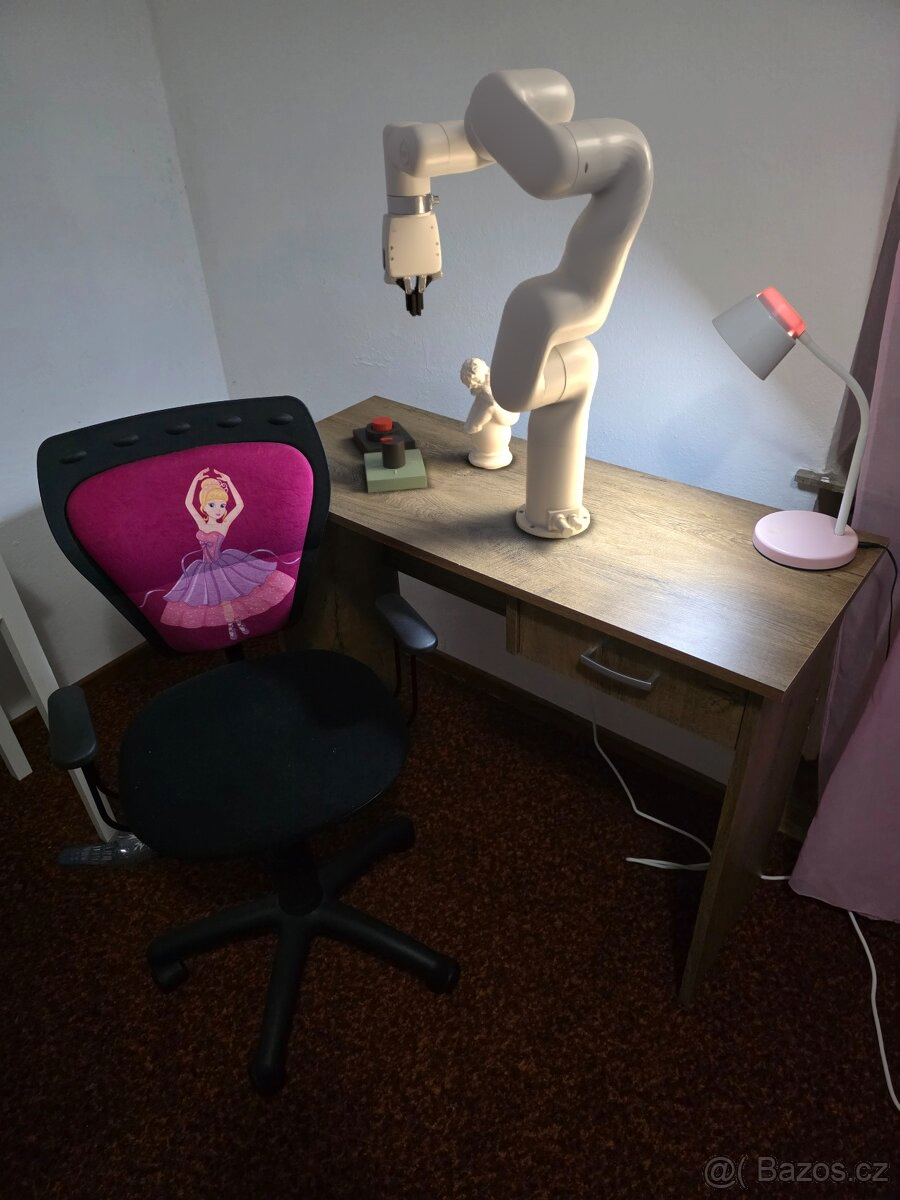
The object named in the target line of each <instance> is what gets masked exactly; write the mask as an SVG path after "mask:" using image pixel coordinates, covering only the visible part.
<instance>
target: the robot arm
mask: <svg viewBox="0 0 900 1200" xmlns="http://www.w3.org/2000/svg"><path fill="white" fill-rule="evenodd" d="M574 92H575V91H574V88H573V87H572V84H571V83H570V81H569V80H568V79H567V77H566V76H565V75H564V74H562V73H560V72H559V71H557V70H554V69H551V68H548V67H547V68H546V67H532V68H517V69H503V70H496V71H492V72H490V73H488V74H486V75H485V76H483V77H482V78H481V79H480V80H479V82H477V84H476V85H475V87H474V88H473V90H472V93H471V96H470V99H469V103H468V106H466V110H465V112H464V117H463V119H452V120H451V119H450V120H443V121H441V120H440V121H433V122H421V121H416V120H405V121H404V120H403V121H393V122H389V123H387V124H386V125H385V126H384V127H383V128H382V129H383V130H382V146H383V160H384V175H385V177H384V178H385V189H386V206H387V213H384V214H383V215H382V226H381V262H382V264H381V265H382V269H383V271H384V272H383V282H384V283H385V284H388V285H393V286H398V287H399V288H400V289H402V291H403V292H404V296H405V299H404V300H405V309H406V311H407V312H408V313H409V315H411V317H412V318H414V317H421V316H422V310H424V308H425V307H424V293H425V292H426V289H427V288H428V286H429V285H430V284H431V283H432V282H434V281H437V280H439V279H442V278H443V271H442V263H443V262H442V261H443V260H442V247H441V240H440V232H439V226H438V225H439V224H438V220H437V216H436V212H435V211H433V206H435V205H439V204H440V197H439V195H435V194H433V193H432V192H431V178H434V177H440V176H446V175H454V174H463V173H468V172H469V173H470V172H473V171H476V170H479V169H481V168H485V167H488V166H492V165H493V164H496V163H497V164H498V165H499V166H500V167H501V168H502V169H503V170H504V171H505V172H506V174H508V175H509V177H511V179H512V180H513V181H514V182H515V183H516V184H517V185H518V186H519V187H520V188H521V189H522V190H523V191H524V192H525V193H527V194H528V195H529V196H530V197H531V196H532V197H533V198H535V199H538V200H541V201H558V200H562V199H569V198H574V197H581V196H585V195H589V194H590V196H591V197H590V199H589V201H588V202H587V204H586V206H585V207H584V208H583V210H582V211H581V212H580V214H579V215H578V216H577V219H576V220H575V221H574V223H573V225H572V227H571V229H570V231H569V233H568V236H567V239H566V242H565V247H564V250H563V254H562V257H561V259H560V262H559V264H558V265H557V268H555V269H554V270H553V271H551V272H548V273H545V274H540V275H536V276H532V277H530V278H527V279H525V280H523V281H521V282H520V283H519V284H517V285H516V286H515V287H514V289H512V291H511V292H510V293H509V295H508V297H507V299H506V301H505V304H504V306H503V309H502V314H501V318H500V322H499V327H498V331H497V336H496V340H495V344H494V347H493V352H492V357H491V362H490V366H489V367H490V388H491V392H492V395H493V398H494V400H495V401H496V403H497V404H498V405H499V406H500V407H501V408H502V409H503V410H505V411H507V412H511V413H519V414H523V413H526V412H529V415H528V420H527V429H526V430H527V433H526V461H525V462H526V467H525V468H526V469H525V502H524V503H523V504H522V505H520V506H519V508H518V509H517V510H516V513H515V522H516V524H517V526H518V527H519V528H520V529H521V530H523V531H524V532H526V533H528V534H530V535H533V536H535V537H540V538H547V539H563V538H564V539H569V538H571V537H574V536H576V535H578V534H580V533H582V532H584V531H585V530H586V529H587V528H588V527H589V525H590V520H591V518H590V517H591V515H590V512H589V511H588V509H587V508H586V507H584V506H583V505H582V502H583V491H584V490H583V489H584V476H585V460H586V448H587V437H588V424H589V415H590V408H591V403H592V398H593V394H594V391H595V388H596V383H597V379H598V374H599V358H598V353H597V351H596V348H595V346H594V345H593V343H592V342H591V341H590V340H589V338H587V336H590V335H592V334H594V333H596V332H597V331H599V330H600V329H601V328H602V326H603V325H604V323H605V322H606V319H607V317H608V314H609V313H610V309H611V307H612V303H613V301H614V298H615V295H616V293H617V289H618V286H619V283H620V280H621V277H622V274H623V272H624V270H625V269H624V268H625V265H626V262H627V259H628V255H629V253H630V251H631V247H632V246H633V242H634V240H635V238H636V235H637V233H638V231H639V229H640V227H641V224H642V222H643V219H644V217H645V215H646V211H647V209H648V207H649V203H650V200H651V196H652V191H653V188H654V187H653V185H654V179H655V178H654V176H655V173H654V171H655V170H654V160H653V159H654V158H653V155H652V151H651V146H650V144H649V142H648V140H647V138H646V136H645V134H644V133H643V132H642V130H641V129H640V128H639V127H638V126H637V125H635V124H634V123H632V122H630V121H628V120H626V119H622V118H617V117H594V118H585V119H578V120H572V118H573V115H574V112H575V106H576V97H575V93H574ZM411 277H415V283H414V287H413V286H412V281H411Z"/></svg>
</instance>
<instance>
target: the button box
mask: <svg viewBox="0 0 900 1200" xmlns="http://www.w3.org/2000/svg"><path fill="white" fill-rule="evenodd" d="M388 435H399V436H402V437H403V438H404V445H405V450H413V449H416V440H415V439H414V438H413V436H411V435H410V434H409V433H408V432H407V430H406V428H404V427H403V426H402V425H401V424H400V423H399V421H394V420H392V429H390V430H388V431H375V430H373V425H372V421H371V422H369V423H368V424H366V426H365V427H361V428H360V427H359V428H354V429H352V437H353V441H354V442H355V443H356V445H357V446H358V447H359V448H360V450H361V451H362V452H363V455H364V454H367V453H378V452H382V450H381V438H383V437H385V436H388Z"/></svg>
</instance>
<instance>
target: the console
mask: <svg viewBox="0 0 900 1200" xmlns="http://www.w3.org/2000/svg"><path fill="white" fill-rule="evenodd" d="M363 456H364V457H363V458H364V468H365V476H366V485H367V493H379V492H381V493H382V492H392V491H403V490H414V489H426V488H428V481H427V479H428V478H427V472H426V469H425V465H424V461H423V457H422V454H421V450H420V448H415V449H413V450H405V460H406V464H405V466H403V467H401V468H398V469H388V468H385V467H384V466H383V462H382V452H378V453H367V454H364V453H363Z"/></svg>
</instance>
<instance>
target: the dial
mask: <svg viewBox="0 0 900 1200" xmlns="http://www.w3.org/2000/svg"><path fill="white" fill-rule="evenodd" d="M381 450H382V462H383V466H384V467H385V468H388V469H398V468H401V467H403V466H405V464H406V460H405V445H404V438H403V437H402V436H399V435H388V436H385V437H383V438H381Z"/></svg>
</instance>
